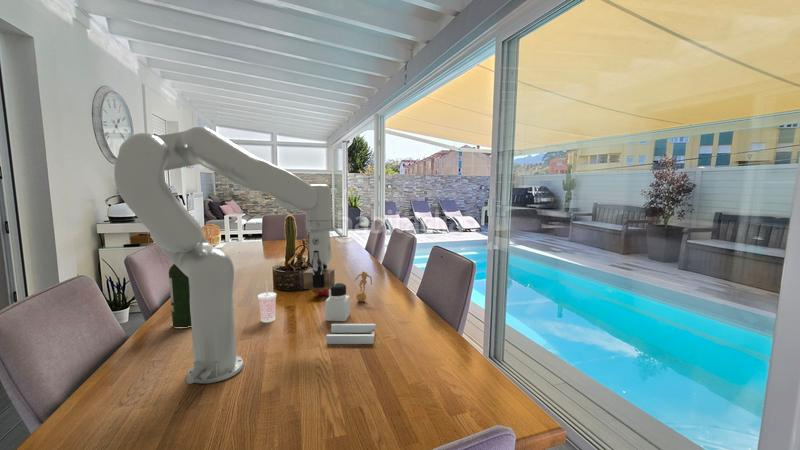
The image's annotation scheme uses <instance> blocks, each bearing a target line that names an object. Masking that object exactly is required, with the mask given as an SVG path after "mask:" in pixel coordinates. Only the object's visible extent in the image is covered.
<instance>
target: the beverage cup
mask: <svg viewBox="0 0 800 450" xmlns="http://www.w3.org/2000/svg"><path fill="white" fill-rule="evenodd" d="M276 298H277V292H273V291H270V292H269V291H268V280H265V292H262V293H259V294H257V299H258V304H259V312H260V320H261V321H260V322H262V323H272V322H273V321H275V320H276V303H277V301H276Z"/></svg>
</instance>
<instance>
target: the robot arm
mask: <svg viewBox="0 0 800 450" xmlns="http://www.w3.org/2000/svg"><path fill="white" fill-rule="evenodd" d="M195 165H200V166H203V168H206V169H208V170H210V171H212V172H214V173H216V174H218V175H220V176H222V177H223V178H226V179H227V180H229V181H231V182H232V183H235V184H236V185H238V186H240V187H243V188H246V189H248V190H253V191H258V192H261V193H264V194H267V195H269V196H272V197H274V199H275V202H276V204H277V205H278V206H279V207H280V208H282V209H284V210H289V211H295V212H296V211H297V212H305V231H306V232H308V233H309V234H308V235H309V236H308V239H309V240H308V241H309V242H308V243H309V245H308V249H309V250H308V251H309V253H308V254H309V263H310V265H311V266H312V268H313V287H314V288H323V287H324V274H323V269H328V264H329V262H330V261H331V259H332V245H331V243H332V242H331V234H330V233H331V231H332V230H333V227H332V195H331V193H332V192H331V186H330V185H328V184H327V183H326V184H323V183H317V184H316V183H315V184H314V183H312V184H311V183H308V182H307V181H304V180H303V179H301V178H300V177H299V176H297V175H295V174H293V173H291V172H289V171H288V170H286V169H284V168H282V167H279V166H277V165H275V164H273V163H271V162H269V161H266V160H265V159H262V158H260V157H258V156H256V155H254V154H253V153H251V152H249V151H247V150H246V149H244V148H242V147H241V146H239V145H237V144H236V143H234V142H232V141H231V140H230V139H228V138H226V137H224V136H223V135H222V134H220V133H218V132H216V131H215V130H212V129H210V128H208V127H204V126H195V127H191V128H189V129H187V130H185V131H179V132H172V133H165V134H159V135H155V134H152V133H147V132H140V133H135V134H133V135H131V136H129V137H127V139H126V140H124V141H123V142H122V144H121V145H120V147H119V149H118V154H117V157H116V160H115V164H114V171H113V172H114V182H115V187H116V190H117V192H118V194H119V195H120V197H121V199H122V200H123V201H124V203H125V204H126V206H127V207H128V208H129V209H130V210H131V212H132V213H133V214H134V215H135V216H136V217H137V218H138V220H139V221H140V222H141V223H142V225H144V227H146V229H147V230H148V231H149V236H150V238H151V239H152V241H153V243H154V244H156V246H157V247H158V248H159V249H160V250H161V251H162V252H163V253H164V254H165V256H167V257H168V259H170V261H171V262H172V263H173V264H175V265H176V266H177V267H178V268H179V269H180V270H181V271H182V272H183V273H184V274H185V275H186V276H187V277H188V278H189V279H190V315H191V325H192V327H191V336H192V337H191V338H192V339H191V340H192V351H193V352H192V353H193V365H191V366H190V367H189V369H188V371H187V376H186V378H185V382H186V383H187V384H188V385H189V384H190V385H191V384H193V383H195V384H204V385H205V384H212V383H213V384H214V383H217V382H222V381H225V380H227V379H230V378H232V377H233V376H235V375H237V374H238V373H239V372H240V371H241V370H242V369H243V367H244V359H243V358H242V357H241V356H238V355H237V345H236V344H237V343H236V341H237V340H236V327H235V311H234V310H235V309H234V282H235V280H234V278H235V268H234V267H235V266H234V263H233V261H232V259H231V257H230V256H229V254H227V253H226V252H225V251H224V250H221V249H220V248H217V247H215V246H213V245H212V244H211V243H210V242H209V241H208V239H207V238H206V236H204V234H203V230H202V227H201V225H200V223H199V221H198V220H197V219H196V218H195V217H194V216H193V215H192V214H191V213H190V212H189V211H188V210H187V209H186V207H185V206H184V205H183V204H182V202H180V200H179V199H178V198H177V196H176V195H175V194H174V193H173V192H172V190H171V189H170V187H169V186H168V184H167V183H166V180H165V172H166V171H170V170H175V169H176V170H177V169H181V168H187V167H192V166H195Z"/></svg>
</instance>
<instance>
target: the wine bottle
mask: <svg viewBox="0 0 800 450" xmlns="http://www.w3.org/2000/svg"><path fill="white" fill-rule="evenodd" d="M168 281H169V292H170V306H171V319H172V327H173V326H174V327H188V326H192V325H191V315H190V279H189V278H188V277H187V276H186V275H185V274H184V273H183V272H182V271H181V270H180V269H179V268H178V267H177V266H176V265H175V264H174V263H173V264H172V265H171V266H170V267H169V269H168ZM174 327H173V328H174Z"/></svg>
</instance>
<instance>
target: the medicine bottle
mask: <svg viewBox="0 0 800 450" xmlns="http://www.w3.org/2000/svg"><path fill="white" fill-rule="evenodd" d="M350 297H351V295H347V285H346V284H344V283H342V282H338V283H336V282H335V285H334V286H333V287H332V288H331V289H330V290H329V294H328V298H326V300H325V301H324V306H325V307H324V309H325V310H324V313H325V321H327V322H328V321H329V322H346V321H347V320H348V318H349V316H350V314H351V298H350Z"/></svg>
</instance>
